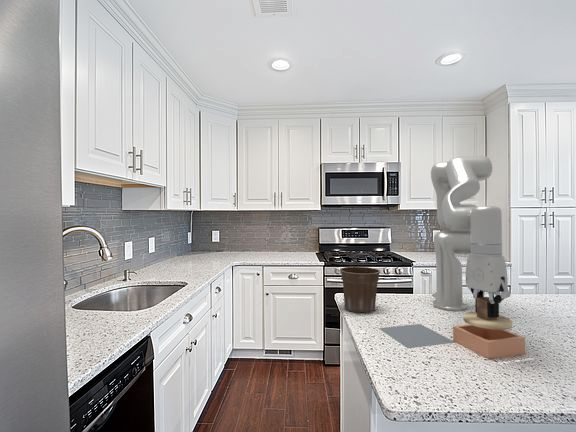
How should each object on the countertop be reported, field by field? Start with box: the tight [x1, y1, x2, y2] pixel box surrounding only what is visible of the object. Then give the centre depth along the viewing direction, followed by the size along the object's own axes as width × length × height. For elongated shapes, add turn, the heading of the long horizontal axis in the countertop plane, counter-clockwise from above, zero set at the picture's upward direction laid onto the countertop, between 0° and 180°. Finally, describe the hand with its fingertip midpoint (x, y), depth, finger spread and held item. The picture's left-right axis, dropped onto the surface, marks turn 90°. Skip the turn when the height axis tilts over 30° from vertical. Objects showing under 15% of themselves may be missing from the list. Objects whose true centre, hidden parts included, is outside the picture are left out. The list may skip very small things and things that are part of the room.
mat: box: [378, 323, 457, 349], centre depth 95 cm, size 16×16×1 cm
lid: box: [462, 296, 513, 331], centre depth 86 cm, size 12×12×7 cm
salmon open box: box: [452, 323, 526, 360], centre depth 86 cm, size 12×12×5 cm
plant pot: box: [339, 266, 381, 314], centre depth 125 cm, size 16×16×16 cm
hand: (487, 314), depth 86 cm, fingers closed on lid, 3 cm apart
